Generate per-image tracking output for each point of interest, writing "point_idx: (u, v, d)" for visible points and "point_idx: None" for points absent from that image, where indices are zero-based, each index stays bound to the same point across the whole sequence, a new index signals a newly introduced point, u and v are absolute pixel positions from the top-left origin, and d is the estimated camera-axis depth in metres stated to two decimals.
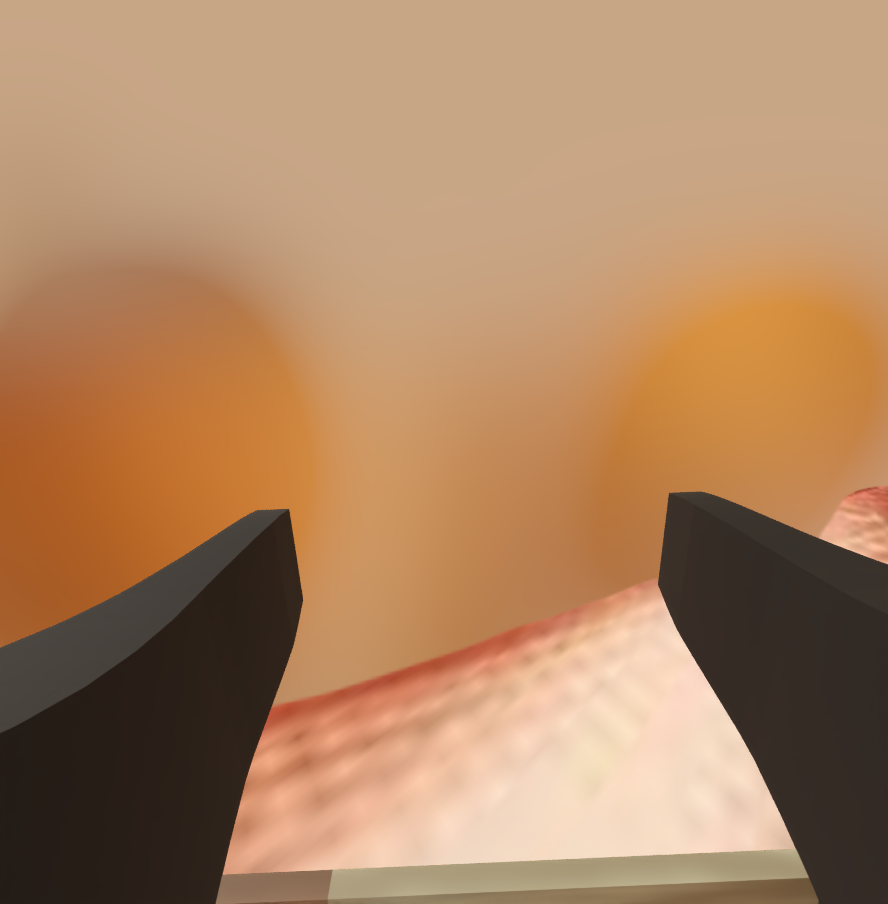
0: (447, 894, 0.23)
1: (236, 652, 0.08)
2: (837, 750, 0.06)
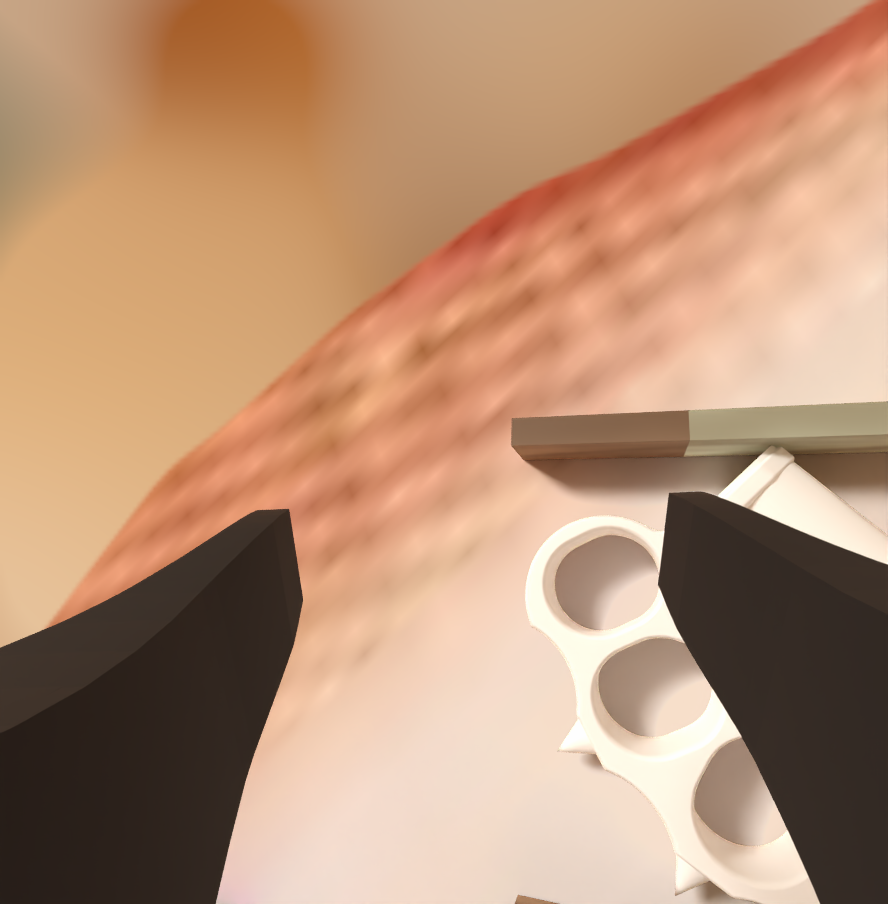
0: (835, 436, 0.21)
1: (236, 652, 0.08)
2: (837, 750, 0.06)
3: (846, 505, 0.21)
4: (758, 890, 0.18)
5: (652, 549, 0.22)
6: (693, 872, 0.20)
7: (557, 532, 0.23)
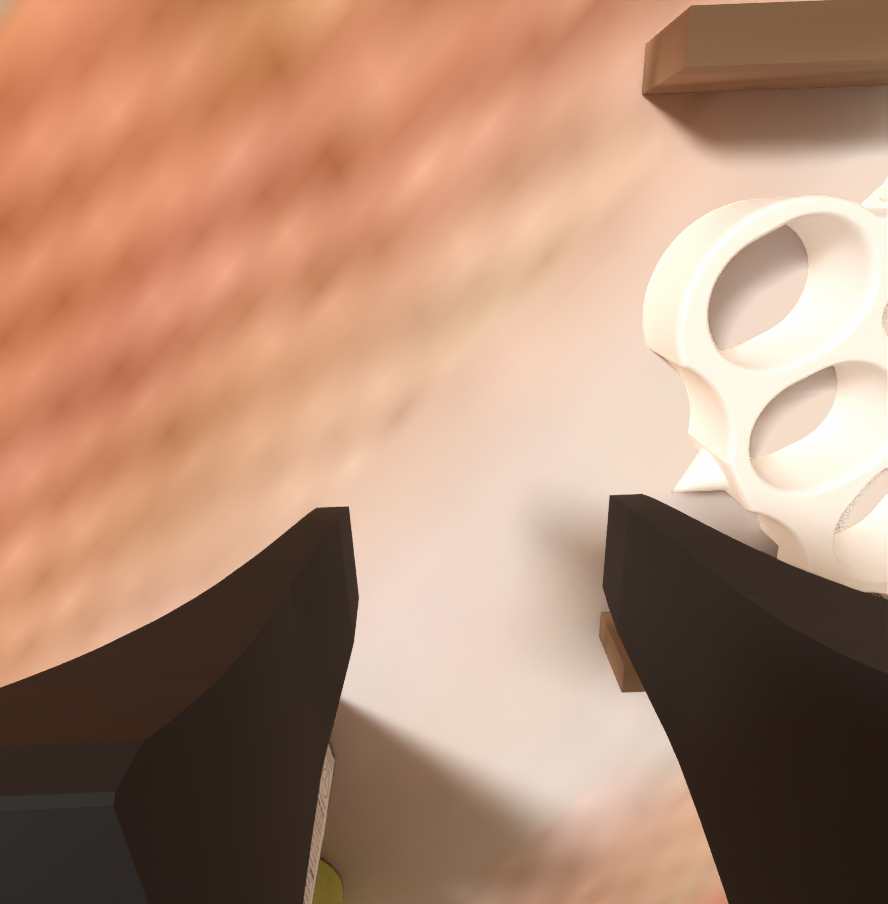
0: None
1: (314, 649, 0.08)
2: (741, 754, 0.06)
3: None
4: (877, 584, 0.19)
5: (866, 244, 0.15)
6: None
7: (739, 227, 0.15)
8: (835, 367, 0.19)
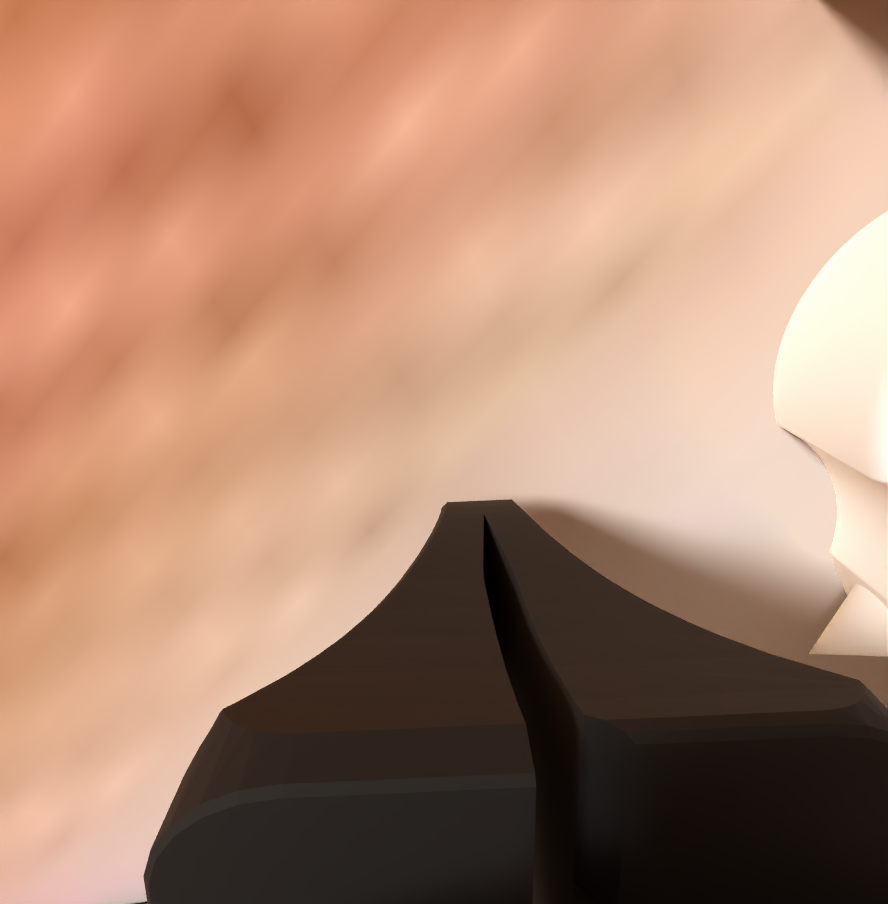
0: None
1: None
2: None
3: None
4: None
5: None
6: None
7: None
8: None
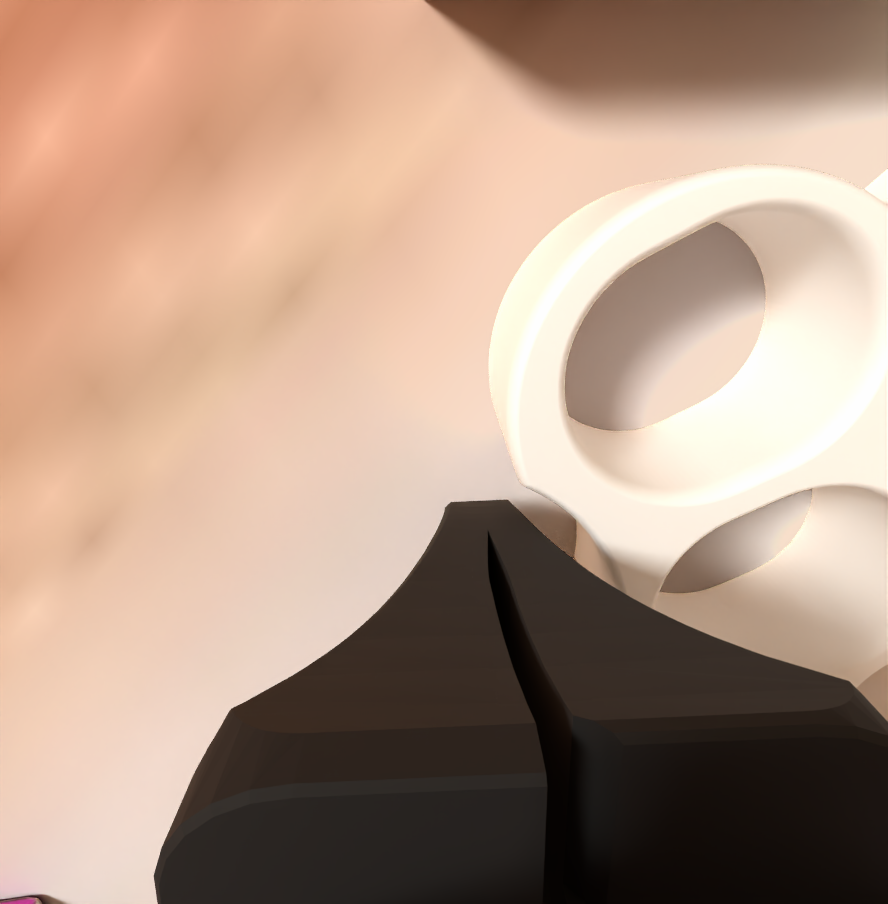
0: None
1: None
2: None
3: None
4: None
5: (871, 269, 0.08)
6: None
7: (615, 226, 0.07)
8: None
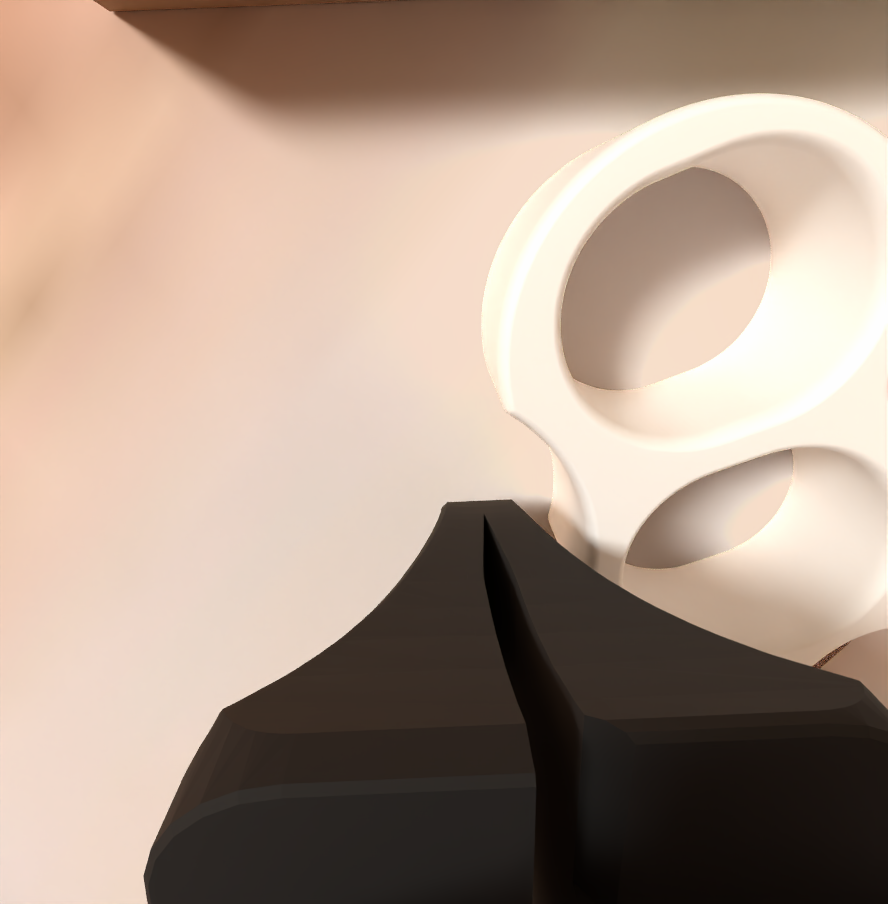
0: None
1: None
2: None
3: None
4: None
5: (881, 222, 0.08)
6: None
7: (633, 139, 0.07)
8: None
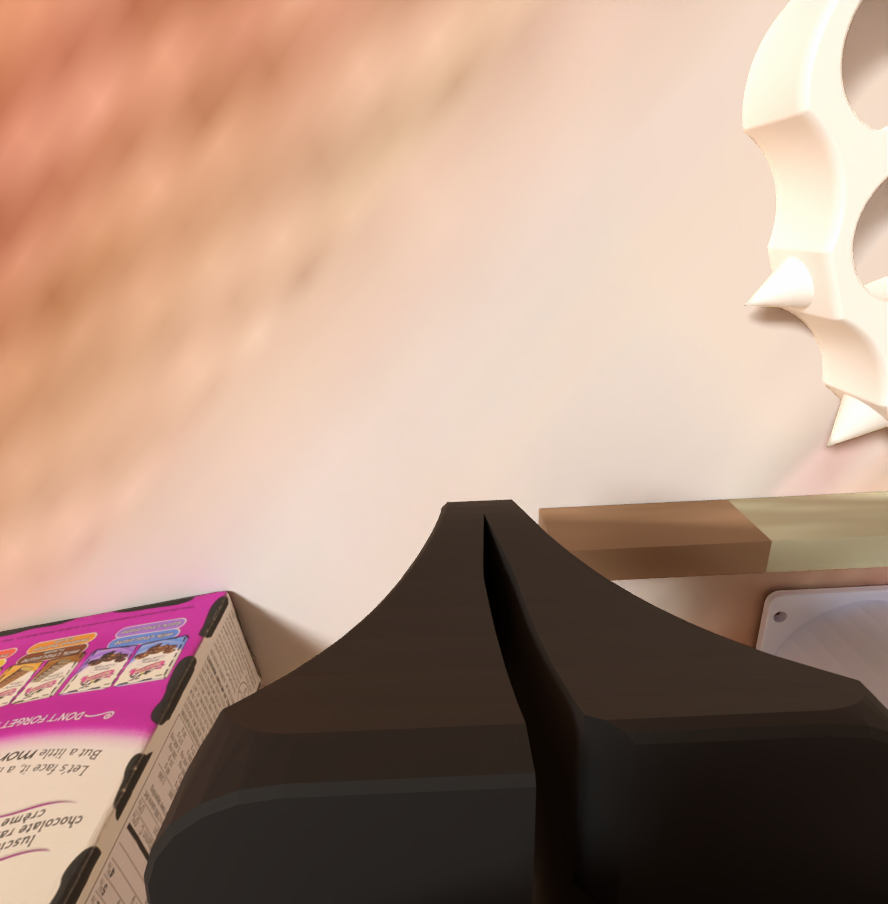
0: None
1: None
2: None
3: None
4: None
5: None
6: (869, 423, 0.18)
7: None
8: None
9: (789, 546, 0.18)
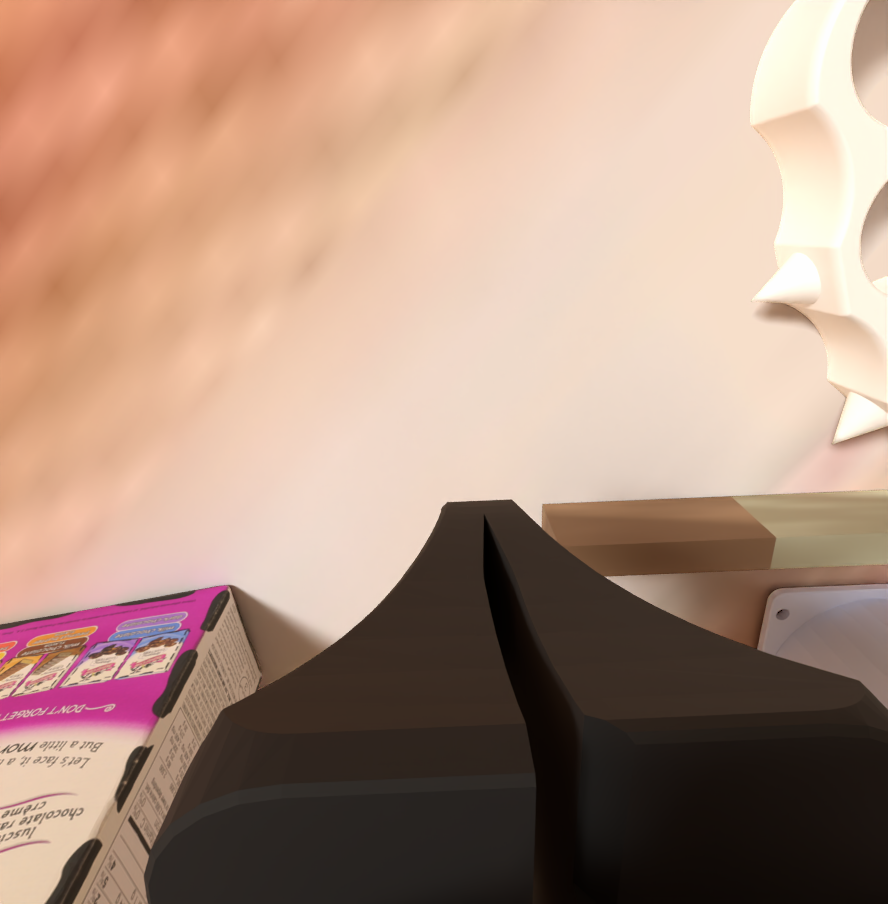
0: None
1: None
2: None
3: None
4: None
5: None
6: (874, 421, 0.18)
7: None
8: None
9: (793, 543, 0.18)
